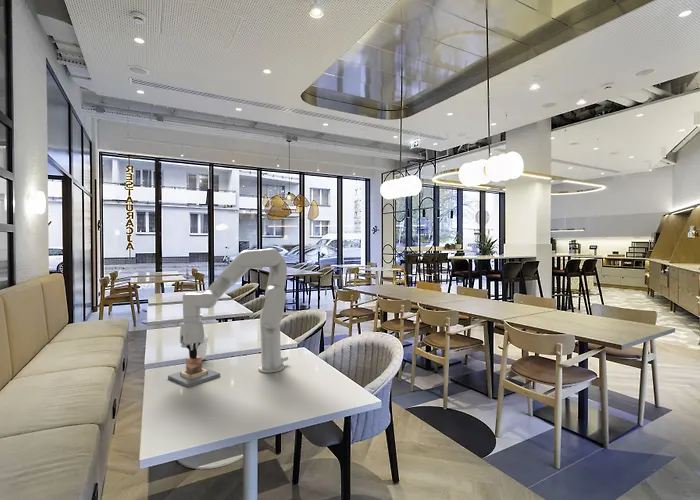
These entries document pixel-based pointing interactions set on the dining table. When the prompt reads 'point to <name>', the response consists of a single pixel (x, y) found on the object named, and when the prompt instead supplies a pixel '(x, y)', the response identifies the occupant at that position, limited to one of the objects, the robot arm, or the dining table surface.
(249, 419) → the dining table surface
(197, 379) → the slate board
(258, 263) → the robot arm
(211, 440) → the dining table surface
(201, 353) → the soft serve ice cream cone
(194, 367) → the block stack
